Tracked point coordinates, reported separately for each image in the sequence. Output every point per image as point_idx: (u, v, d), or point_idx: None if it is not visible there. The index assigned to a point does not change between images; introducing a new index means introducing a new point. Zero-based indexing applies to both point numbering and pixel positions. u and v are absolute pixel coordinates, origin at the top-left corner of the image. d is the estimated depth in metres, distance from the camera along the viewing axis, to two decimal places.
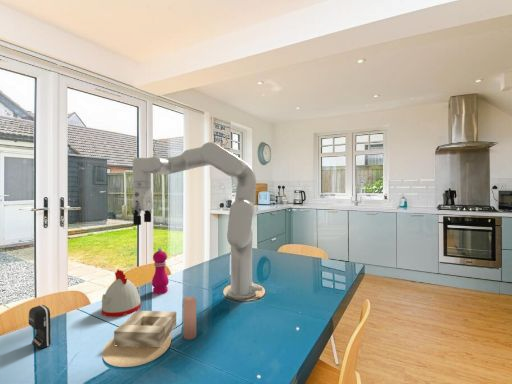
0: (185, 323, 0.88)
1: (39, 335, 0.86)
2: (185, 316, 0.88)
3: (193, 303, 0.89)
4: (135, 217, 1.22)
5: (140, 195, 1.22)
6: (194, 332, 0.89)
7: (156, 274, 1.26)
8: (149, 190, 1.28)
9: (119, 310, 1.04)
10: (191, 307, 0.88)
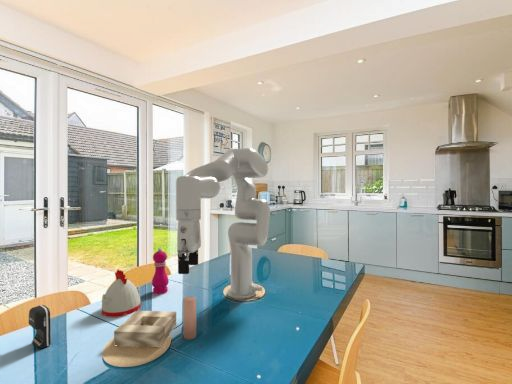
0: (185, 323, 0.88)
1: (39, 335, 0.86)
2: (185, 316, 0.88)
3: (193, 303, 0.89)
4: (181, 263, 0.84)
5: (188, 231, 0.84)
6: (194, 332, 0.89)
7: (156, 274, 1.26)
8: (198, 221, 0.91)
9: (119, 310, 1.04)
10: (191, 307, 0.88)
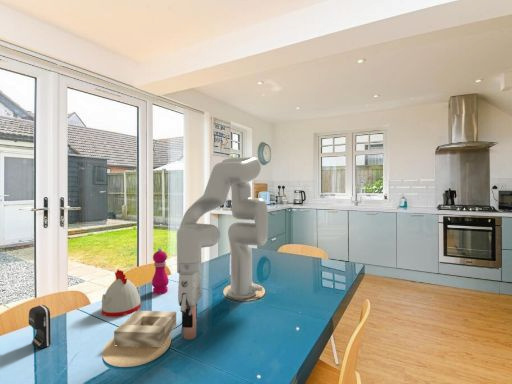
0: None
1: (39, 335, 0.86)
2: None
3: None
4: (185, 317, 0.87)
5: (189, 285, 0.85)
6: (194, 332, 0.89)
7: (156, 274, 1.26)
8: (198, 272, 0.91)
9: (119, 310, 1.04)
10: None
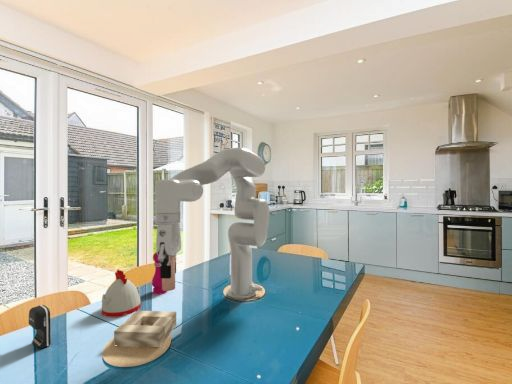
0: None
1: (39, 335, 0.86)
2: None
3: None
4: (163, 268, 0.87)
5: (167, 234, 0.85)
6: (173, 284, 0.89)
7: (156, 274, 1.26)
8: (177, 225, 0.91)
9: (119, 310, 1.04)
10: (170, 258, 0.88)
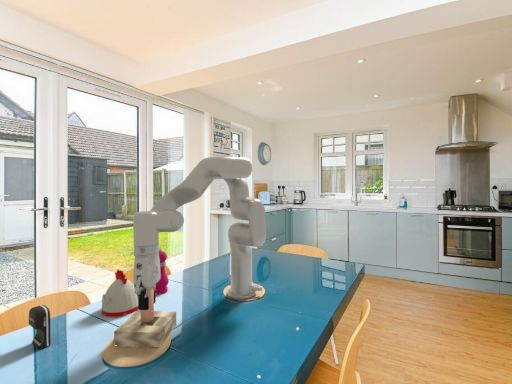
0: None
1: (39, 335, 0.86)
2: None
3: None
4: (141, 300, 0.88)
5: (144, 267, 0.86)
6: (151, 315, 0.90)
7: None
8: (156, 255, 0.92)
9: (119, 310, 1.04)
10: (148, 289, 0.89)
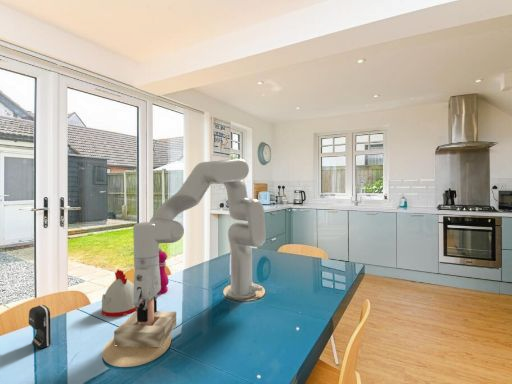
0: None
1: (39, 335, 0.86)
2: None
3: (150, 302, 0.90)
4: (140, 312, 0.87)
5: (144, 279, 0.86)
6: None
7: None
8: (156, 266, 0.92)
9: (119, 310, 1.04)
10: (148, 305, 0.89)
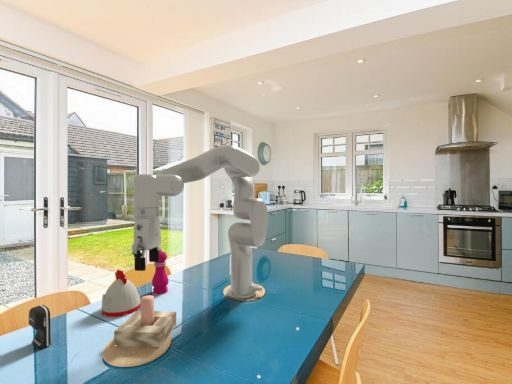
0: (142, 321, 0.89)
1: (39, 335, 0.86)
2: (142, 315, 0.89)
3: (150, 302, 0.90)
4: (137, 260, 0.85)
5: (144, 228, 0.86)
6: None
7: (156, 274, 1.26)
8: (156, 219, 0.92)
9: (119, 310, 1.04)
10: (148, 305, 0.89)
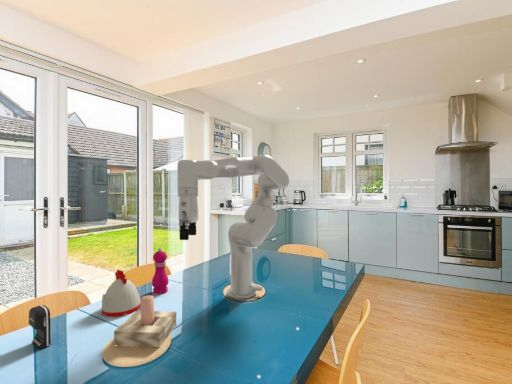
0: (142, 322, 0.89)
1: (39, 335, 0.86)
2: (142, 315, 0.89)
3: (150, 302, 0.90)
4: (182, 231, 1.02)
5: (188, 204, 1.03)
6: None
7: (156, 274, 1.26)
8: (196, 198, 1.09)
9: (119, 310, 1.04)
10: (148, 305, 0.89)
